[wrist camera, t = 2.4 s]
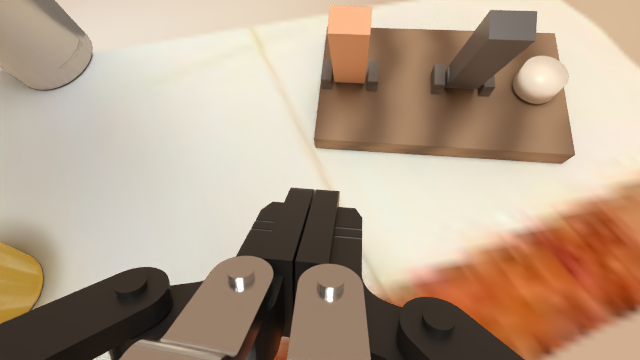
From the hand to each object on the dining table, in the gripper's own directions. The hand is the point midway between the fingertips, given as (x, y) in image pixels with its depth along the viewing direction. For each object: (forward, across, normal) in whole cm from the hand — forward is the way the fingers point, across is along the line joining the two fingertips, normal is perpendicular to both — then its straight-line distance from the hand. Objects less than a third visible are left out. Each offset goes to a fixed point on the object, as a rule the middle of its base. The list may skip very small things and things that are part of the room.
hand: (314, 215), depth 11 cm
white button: (+27, -18, 0) cm, 33 cm away
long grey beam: (+28, -11, 0) cm, 30 cm away
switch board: (+29, -9, +1) cm, 31 cm away
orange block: (+27, 0, -1) cm, 27 cm away
